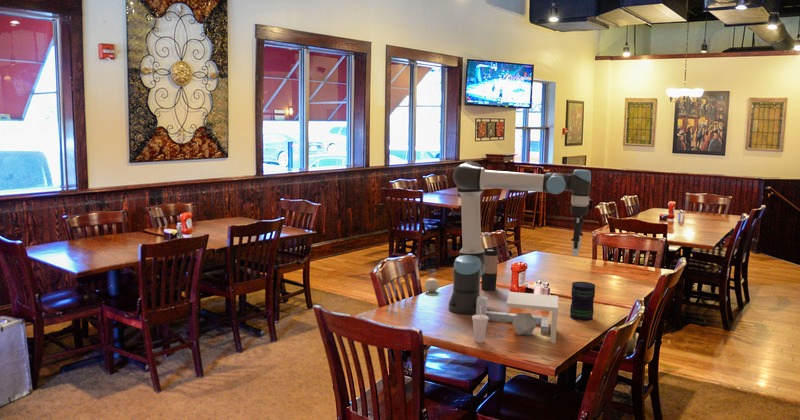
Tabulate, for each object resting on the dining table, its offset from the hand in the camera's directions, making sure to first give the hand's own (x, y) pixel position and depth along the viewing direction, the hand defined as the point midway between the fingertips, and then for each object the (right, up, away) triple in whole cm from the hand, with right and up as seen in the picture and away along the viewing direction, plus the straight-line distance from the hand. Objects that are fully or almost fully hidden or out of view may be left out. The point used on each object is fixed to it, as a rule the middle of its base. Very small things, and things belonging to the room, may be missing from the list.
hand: (576, 253), depth 301 cm
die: (-28, -31, -28) cm, 50 cm away
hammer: (-31, -29, -17) cm, 46 cm away
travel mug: (-33, -21, +41) cm, 56 cm away
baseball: (-62, -21, +32) cm, 73 cm away
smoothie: (-47, -32, -39) cm, 69 cm away
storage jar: (+1, -28, -4) cm, 28 cm away
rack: (-25, -30, -27) cm, 48 cm away
